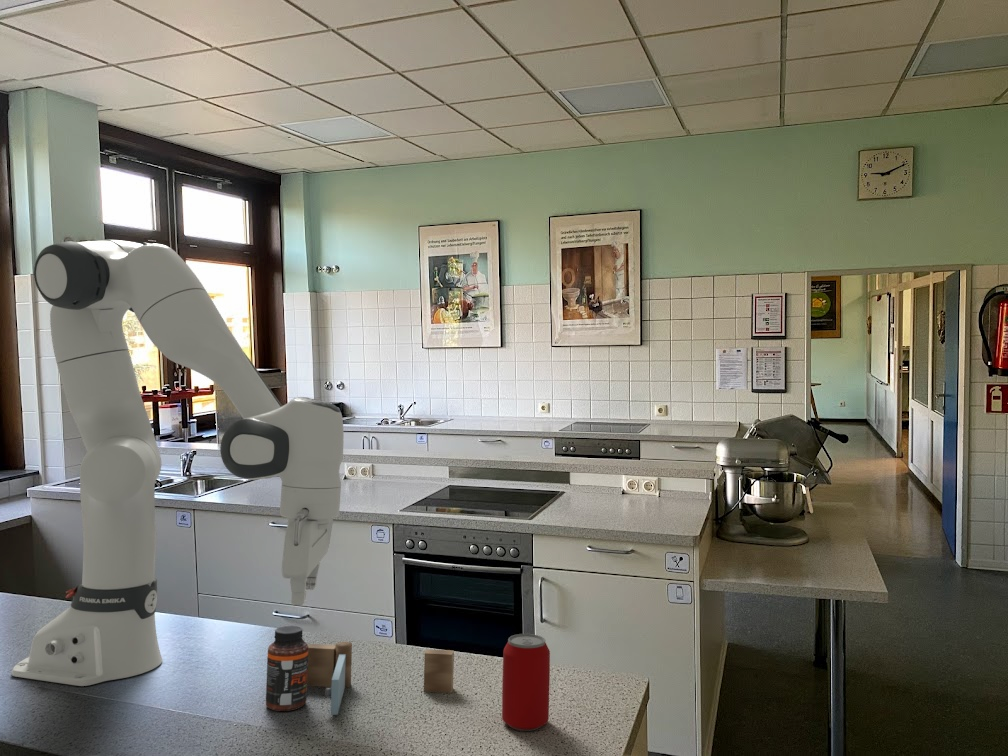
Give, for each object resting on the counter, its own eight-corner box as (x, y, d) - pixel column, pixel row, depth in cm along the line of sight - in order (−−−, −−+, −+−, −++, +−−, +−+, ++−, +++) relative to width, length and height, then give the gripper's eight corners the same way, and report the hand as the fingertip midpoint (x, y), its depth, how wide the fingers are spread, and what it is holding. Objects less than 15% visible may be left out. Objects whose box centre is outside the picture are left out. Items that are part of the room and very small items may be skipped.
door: (332, 686, 122) (332, 654, 122) (344, 686, 122) (345, 654, 123) (323, 715, 111) (324, 679, 111) (337, 714, 111) (338, 679, 111)
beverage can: (546, 714, 114) (548, 632, 115) (550, 734, 107) (552, 647, 108) (500, 713, 114) (502, 632, 114) (502, 733, 107) (504, 646, 108)
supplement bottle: (295, 715, 112) (297, 636, 112) (257, 710, 113) (260, 633, 114) (313, 699, 118) (315, 625, 118) (277, 695, 119) (279, 622, 119)
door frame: (285, 685, 123) (287, 644, 124) (291, 679, 126) (292, 639, 126) (451, 693, 121) (451, 652, 122) (453, 687, 124) (454, 646, 124)
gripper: (320, 515, 107) (313, 615, 107) (340, 497, 128) (334, 581, 127) (274, 513, 107) (267, 613, 106) (301, 495, 127) (295, 580, 127)
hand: (304, 596), depth 117 cm, fingers open, 8 cm apart
